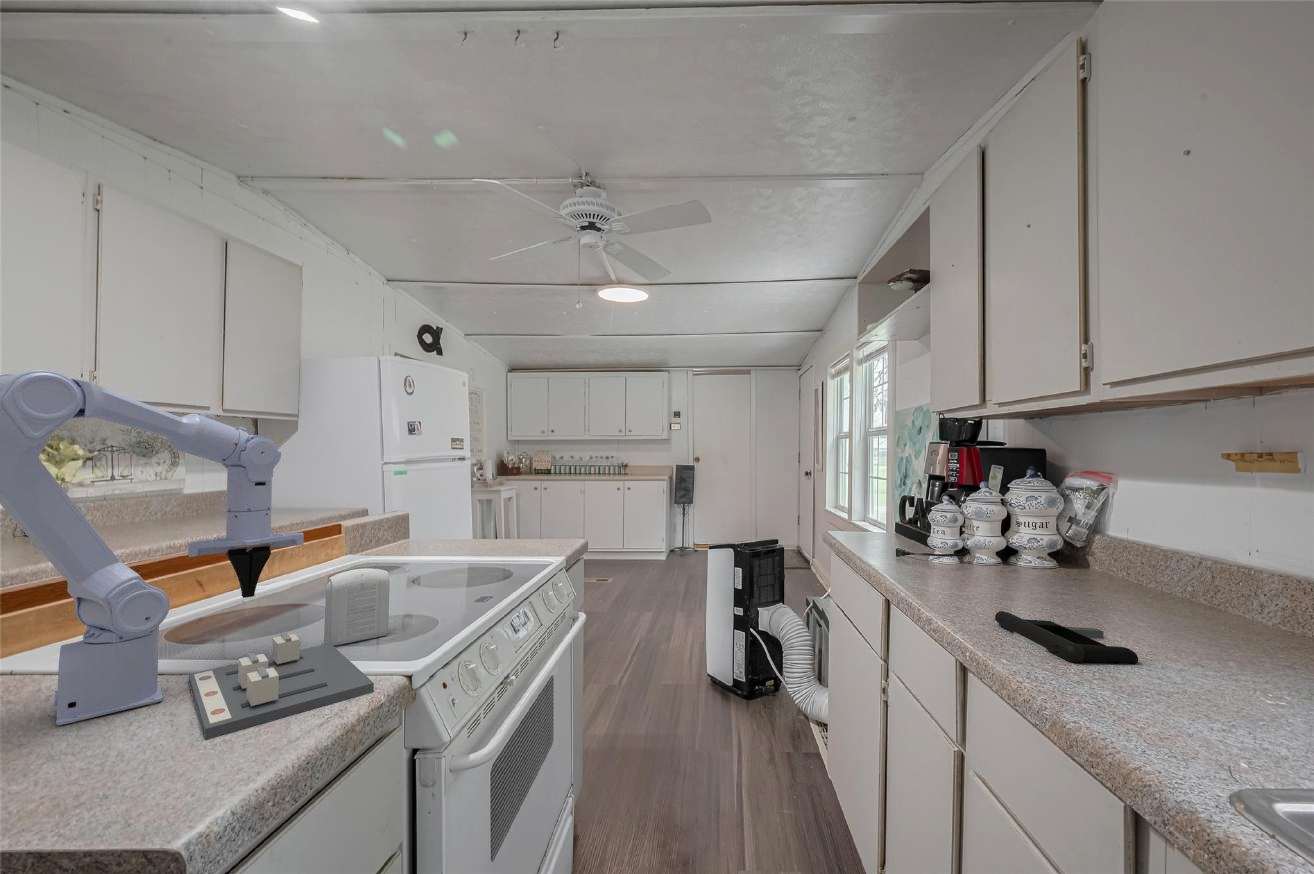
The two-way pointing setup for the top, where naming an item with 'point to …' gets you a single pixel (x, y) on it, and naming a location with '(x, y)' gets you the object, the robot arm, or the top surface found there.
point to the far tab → (285, 648)
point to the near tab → (262, 686)
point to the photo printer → (356, 606)
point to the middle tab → (250, 666)
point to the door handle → (1066, 640)
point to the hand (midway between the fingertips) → (247, 596)
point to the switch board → (300, 689)
